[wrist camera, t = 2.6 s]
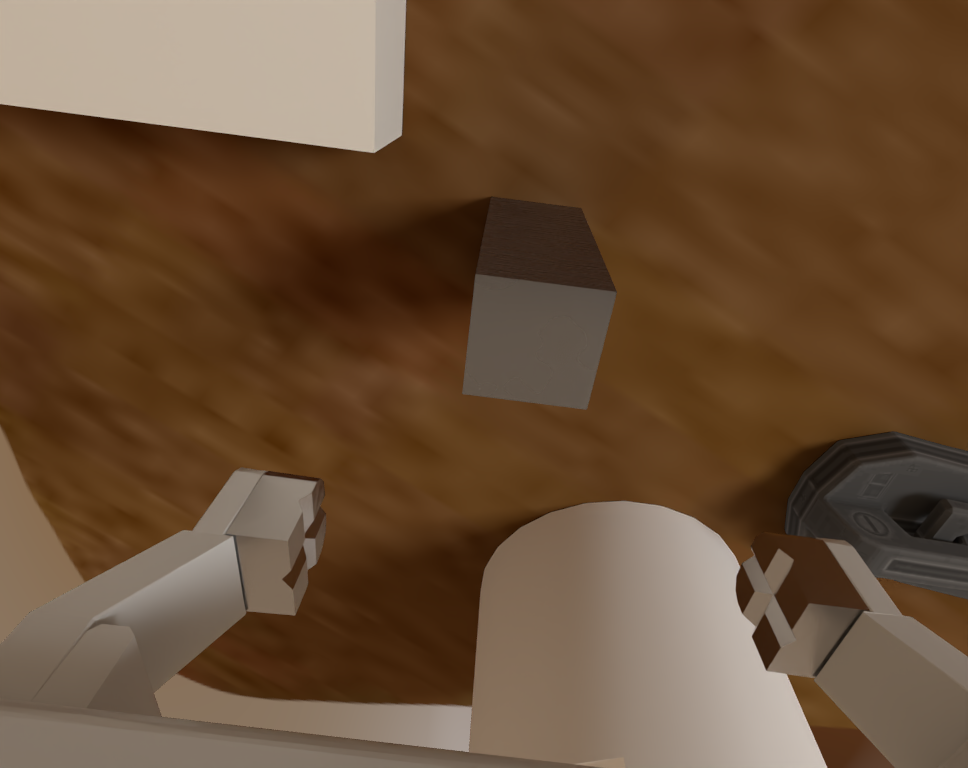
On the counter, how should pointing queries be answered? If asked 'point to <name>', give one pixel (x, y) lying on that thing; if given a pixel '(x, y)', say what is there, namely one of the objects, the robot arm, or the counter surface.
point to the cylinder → (626, 649)
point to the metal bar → (537, 306)
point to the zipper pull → (891, 507)
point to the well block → (214, 65)
